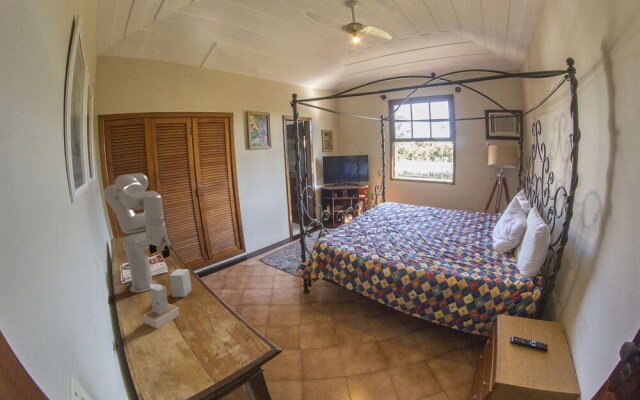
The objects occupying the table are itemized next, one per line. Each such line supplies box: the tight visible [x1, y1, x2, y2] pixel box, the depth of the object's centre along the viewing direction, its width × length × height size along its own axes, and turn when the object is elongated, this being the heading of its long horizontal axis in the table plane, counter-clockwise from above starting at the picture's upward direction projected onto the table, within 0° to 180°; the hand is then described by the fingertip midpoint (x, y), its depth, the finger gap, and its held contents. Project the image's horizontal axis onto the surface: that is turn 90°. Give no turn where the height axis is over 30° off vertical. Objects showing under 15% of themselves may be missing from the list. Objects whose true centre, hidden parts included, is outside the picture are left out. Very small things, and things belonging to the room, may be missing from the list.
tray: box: [143, 303, 180, 329], centre depth 132 cm, size 9×11×4 cm
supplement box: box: [168, 268, 193, 298], centre depth 153 cm, size 7×7×13 cm
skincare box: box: [149, 283, 169, 315], centre depth 131 cm, size 6×4×12 cm
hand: (160, 254), depth 136 cm, fingers open, 9 cm apart
